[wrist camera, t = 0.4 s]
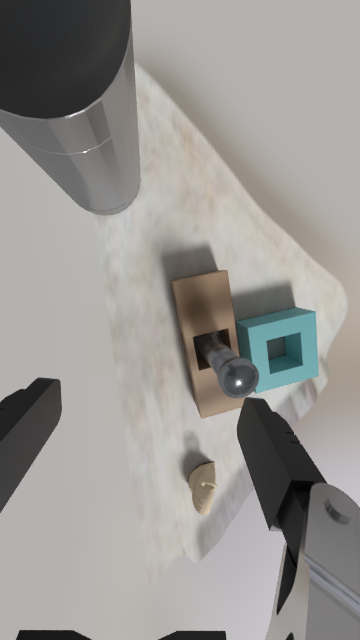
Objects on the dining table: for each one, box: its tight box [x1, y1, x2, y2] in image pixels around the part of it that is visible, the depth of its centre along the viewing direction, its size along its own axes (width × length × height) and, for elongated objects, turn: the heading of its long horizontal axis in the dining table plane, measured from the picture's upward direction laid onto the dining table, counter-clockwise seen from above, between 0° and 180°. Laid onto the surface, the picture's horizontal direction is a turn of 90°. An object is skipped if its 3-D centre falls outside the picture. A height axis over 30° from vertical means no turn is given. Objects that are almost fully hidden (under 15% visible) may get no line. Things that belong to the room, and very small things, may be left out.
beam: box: [170, 270, 245, 419], centre depth 31 cm, size 20×7×4 cm, turn 11°
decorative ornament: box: [189, 462, 217, 515], centre depth 35 cm, size 4×8×5 cm, turn 167°
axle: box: [196, 332, 259, 398], centre depth 27 cm, size 4×4×12 cm
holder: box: [236, 307, 318, 393], centre depth 32 cm, size 10×10×4 cm
